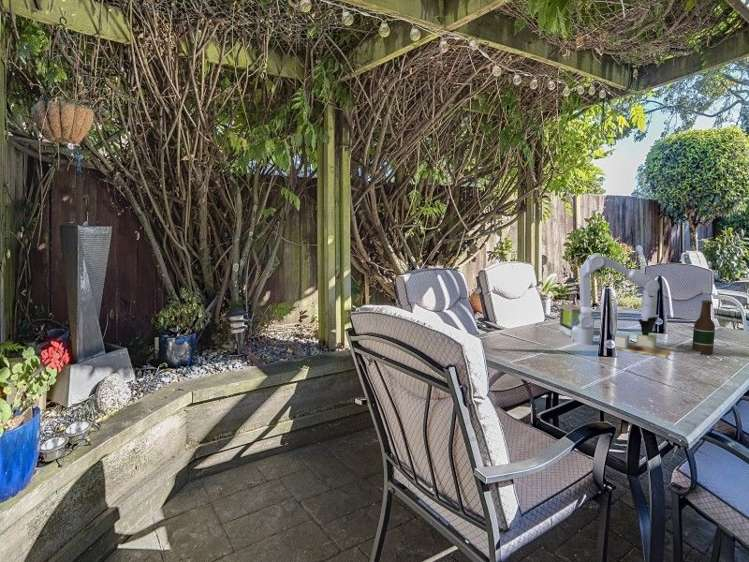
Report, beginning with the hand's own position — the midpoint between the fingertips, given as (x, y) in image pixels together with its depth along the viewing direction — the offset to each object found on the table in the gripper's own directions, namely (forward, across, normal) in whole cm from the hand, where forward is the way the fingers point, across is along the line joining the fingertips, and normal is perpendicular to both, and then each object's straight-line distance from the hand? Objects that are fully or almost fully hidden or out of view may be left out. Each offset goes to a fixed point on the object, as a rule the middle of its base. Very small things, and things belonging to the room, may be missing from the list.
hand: (647, 333), depth 208 cm
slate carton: (+6, -10, +9) cm, 15 cm away
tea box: (+8, +12, +36) cm, 39 cm away
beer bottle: (+8, +12, -20) cm, 25 cm away
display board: (+8, -4, +2) cm, 9 cm away
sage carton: (+7, 0, 0) cm, 7 cm away
